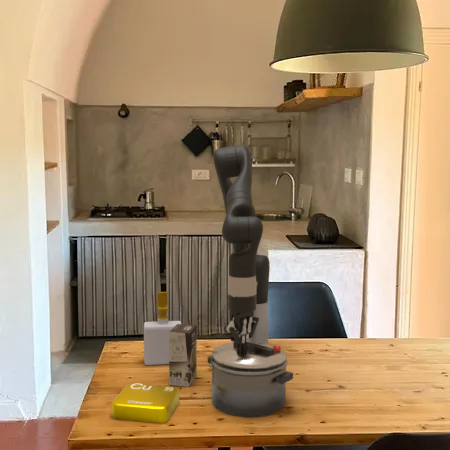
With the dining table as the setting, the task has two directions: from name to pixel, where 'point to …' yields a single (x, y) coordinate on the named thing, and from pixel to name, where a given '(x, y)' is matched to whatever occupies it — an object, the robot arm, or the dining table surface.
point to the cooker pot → (249, 389)
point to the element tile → (145, 403)
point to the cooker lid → (250, 356)
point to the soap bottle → (158, 335)
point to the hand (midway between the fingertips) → (241, 355)
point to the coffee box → (182, 355)
